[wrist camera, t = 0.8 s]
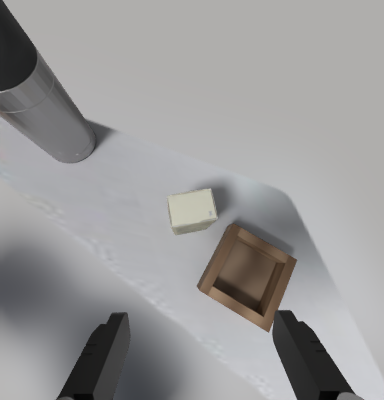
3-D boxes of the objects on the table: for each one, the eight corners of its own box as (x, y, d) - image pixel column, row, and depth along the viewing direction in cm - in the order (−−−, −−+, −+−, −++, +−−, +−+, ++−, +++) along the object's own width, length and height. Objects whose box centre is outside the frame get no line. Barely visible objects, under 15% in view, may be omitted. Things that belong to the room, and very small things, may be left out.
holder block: (196, 286, 34) (199, 290, 30) (227, 226, 37) (233, 223, 33) (258, 323, 33) (268, 332, 29) (284, 259, 36) (297, 259, 32)
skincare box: (202, 207, 38) (213, 186, 26) (206, 229, 37) (221, 218, 25) (169, 213, 37) (165, 194, 25) (172, 236, 36) (171, 227, 24)
